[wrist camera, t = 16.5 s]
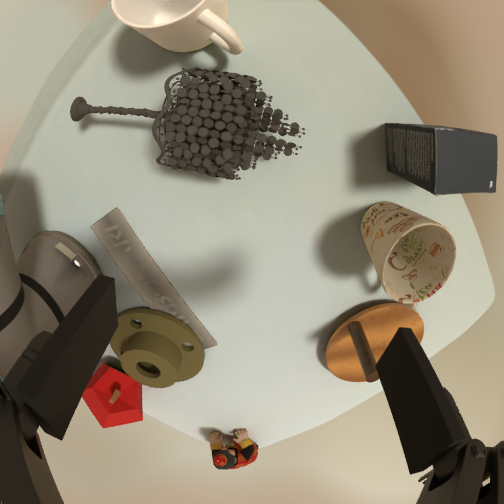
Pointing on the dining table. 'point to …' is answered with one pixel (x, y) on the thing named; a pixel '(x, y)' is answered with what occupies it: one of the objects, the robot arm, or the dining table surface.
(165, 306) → the nameplate
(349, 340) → the wooden disc with post
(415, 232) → the mug
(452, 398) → the robot arm
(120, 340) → the flange
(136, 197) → the dining table surface
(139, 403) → the red faceted polyhedron
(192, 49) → the cup
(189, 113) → the massage brush
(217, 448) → the figurine
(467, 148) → the box
